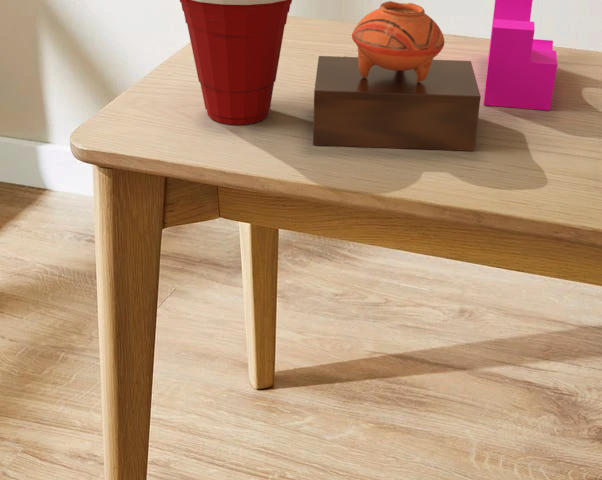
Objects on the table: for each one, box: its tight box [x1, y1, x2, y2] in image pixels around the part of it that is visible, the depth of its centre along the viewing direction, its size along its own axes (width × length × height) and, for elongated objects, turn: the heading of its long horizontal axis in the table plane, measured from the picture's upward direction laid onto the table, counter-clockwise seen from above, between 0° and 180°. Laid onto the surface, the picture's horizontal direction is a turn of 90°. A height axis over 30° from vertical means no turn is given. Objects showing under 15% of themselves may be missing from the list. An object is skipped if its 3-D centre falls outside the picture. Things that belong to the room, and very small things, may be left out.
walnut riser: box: [312, 55, 482, 152], centre depth 87 cm, size 14×9×5 cm, turn 87°
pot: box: [351, 0, 445, 82], centre depth 84 cm, size 8×8×7 cm
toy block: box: [483, 0, 558, 111], centre depth 97 cm, size 15×6×8 cm, turn 169°
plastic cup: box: [179, 0, 293, 125], centre depth 88 cm, size 11×11×12 cm
